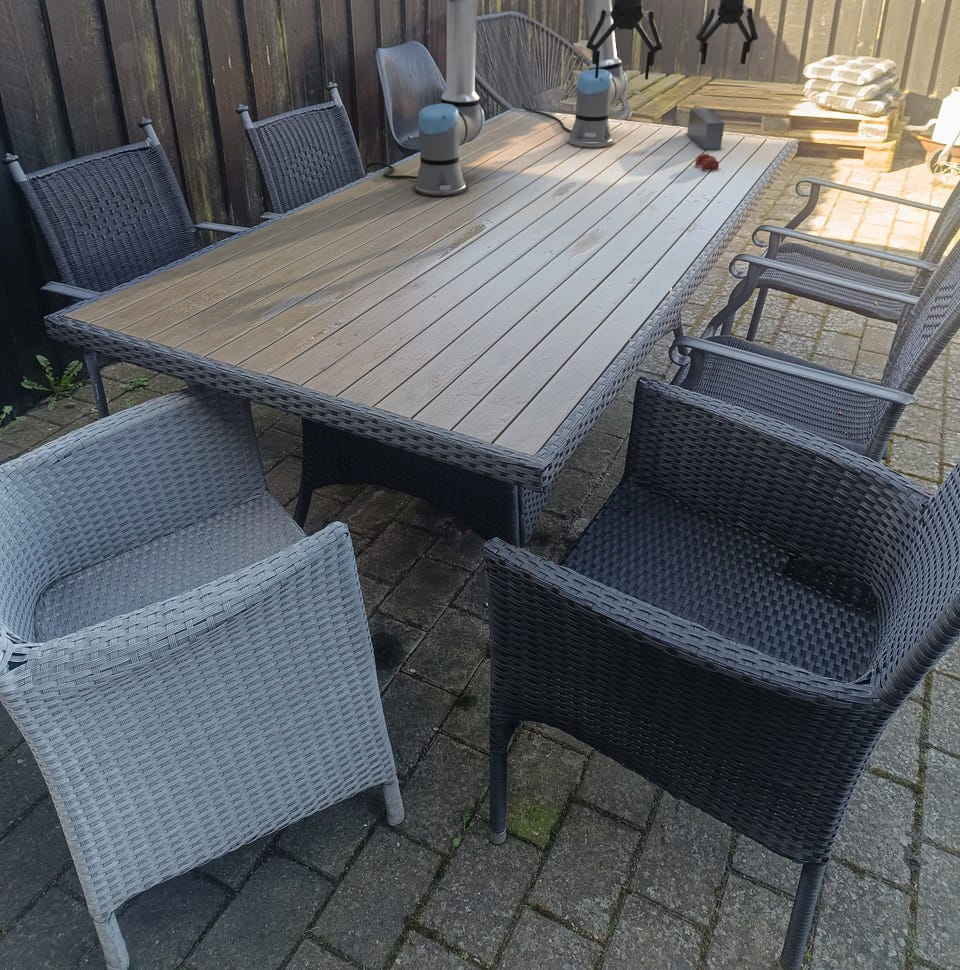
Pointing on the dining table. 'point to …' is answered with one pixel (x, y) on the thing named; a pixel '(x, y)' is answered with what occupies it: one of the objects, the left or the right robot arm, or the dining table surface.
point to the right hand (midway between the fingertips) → (722, 63)
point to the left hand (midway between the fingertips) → (621, 78)
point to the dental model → (707, 162)
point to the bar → (705, 129)
